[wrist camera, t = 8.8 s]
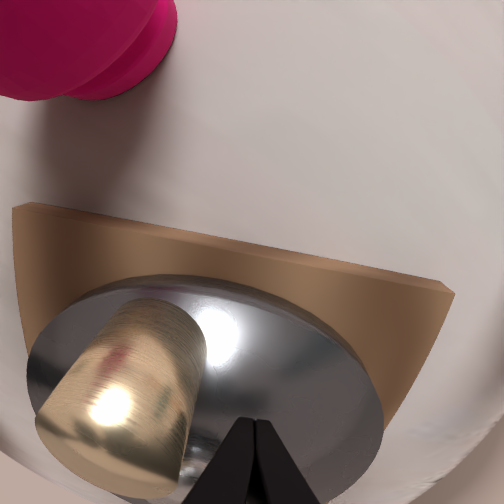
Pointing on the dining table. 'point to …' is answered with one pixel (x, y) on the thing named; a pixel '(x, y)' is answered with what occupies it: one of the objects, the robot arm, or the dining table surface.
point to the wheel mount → (236, 270)
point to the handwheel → (196, 386)
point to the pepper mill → (81, 46)
